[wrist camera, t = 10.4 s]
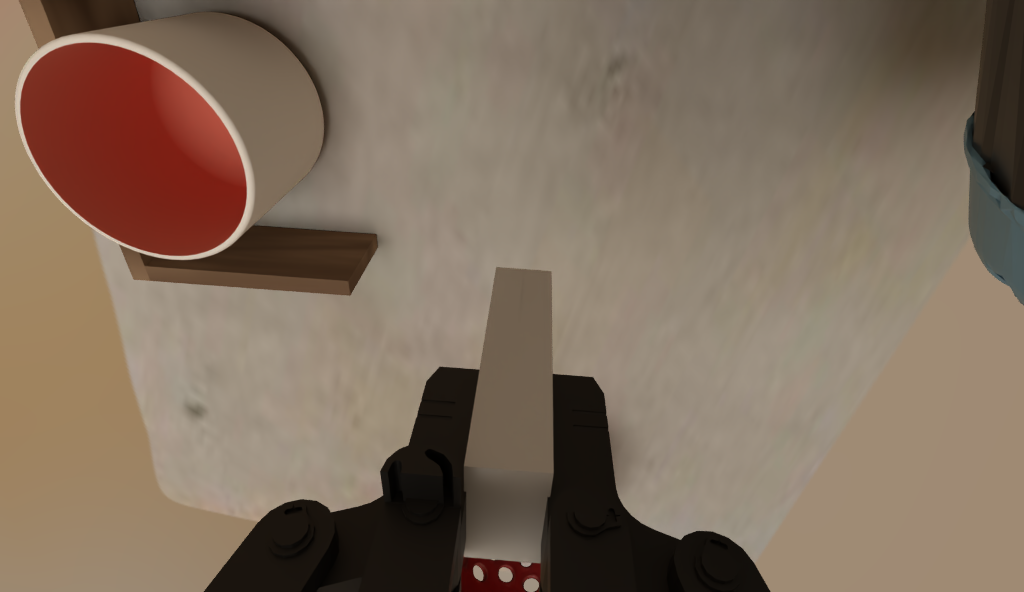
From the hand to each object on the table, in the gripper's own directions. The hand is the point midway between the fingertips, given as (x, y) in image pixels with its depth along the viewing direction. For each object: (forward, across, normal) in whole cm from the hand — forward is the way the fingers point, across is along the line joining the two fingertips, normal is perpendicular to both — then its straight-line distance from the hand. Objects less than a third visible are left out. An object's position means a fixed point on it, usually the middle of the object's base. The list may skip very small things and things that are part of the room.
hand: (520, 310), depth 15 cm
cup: (+19, -17, 0) cm, 26 cm away
